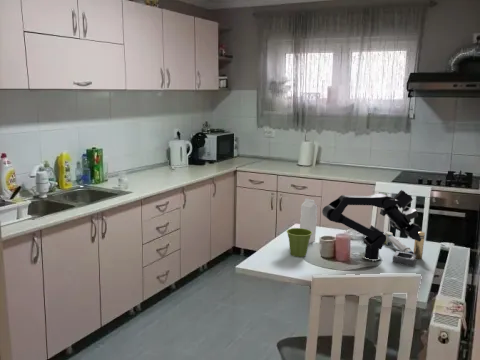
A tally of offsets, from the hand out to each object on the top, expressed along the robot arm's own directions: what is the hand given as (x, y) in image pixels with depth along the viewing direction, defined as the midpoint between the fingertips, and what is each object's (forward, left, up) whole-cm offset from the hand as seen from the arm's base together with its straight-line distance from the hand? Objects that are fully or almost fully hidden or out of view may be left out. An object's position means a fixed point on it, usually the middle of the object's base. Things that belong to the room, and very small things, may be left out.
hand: (415, 237), depth 220 cm
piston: (+2, -1, -10) cm, 10 cm away
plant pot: (-42, +35, -10) cm, 55 cm away
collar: (-8, 0, -10) cm, 13 cm away
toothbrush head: (+5, +11, -10) cm, 16 cm away
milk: (-23, +46, -10) cm, 52 cm away
